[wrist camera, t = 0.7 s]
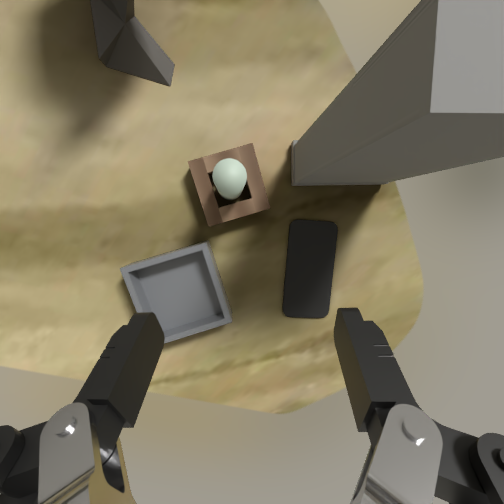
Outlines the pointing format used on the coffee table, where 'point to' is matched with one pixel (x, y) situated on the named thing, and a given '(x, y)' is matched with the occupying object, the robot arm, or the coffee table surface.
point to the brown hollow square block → (203, 184)
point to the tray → (180, 290)
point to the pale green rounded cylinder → (229, 178)
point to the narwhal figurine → (128, 42)
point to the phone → (309, 268)
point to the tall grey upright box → (415, 102)
